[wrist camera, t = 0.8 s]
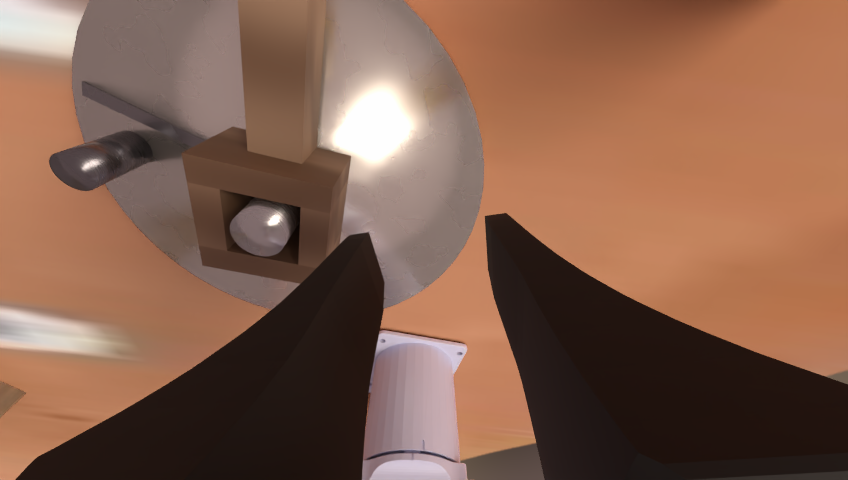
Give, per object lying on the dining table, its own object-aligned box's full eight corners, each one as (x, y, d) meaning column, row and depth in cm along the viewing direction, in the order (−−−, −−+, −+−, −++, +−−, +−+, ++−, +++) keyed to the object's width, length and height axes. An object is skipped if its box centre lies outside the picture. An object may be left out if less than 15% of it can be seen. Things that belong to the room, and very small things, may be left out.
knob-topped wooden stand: (339, 244, 20) (322, 287, 16) (241, 224, 19) (202, 265, 16) (383, -87, 11) (365, -134, 8) (208, -151, 10) (108, -233, 7)
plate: (427, 327, 26) (427, 338, 26) (147, 278, 23) (135, 288, 22) (549, 25, 14) (558, 25, 13) (3, -160, 11) (-35, -177, 10)
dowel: (156, 166, 17) (102, 194, 14) (120, 159, 17) (58, 185, 14) (148, 135, 16) (89, 158, 13) (110, 126, 16) (42, 148, 13)
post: (319, 203, 20) (284, 260, 15) (280, 194, 19) (232, 250, 15) (322, 168, 18) (285, 219, 14) (280, 158, 18) (227, 207, 13)
